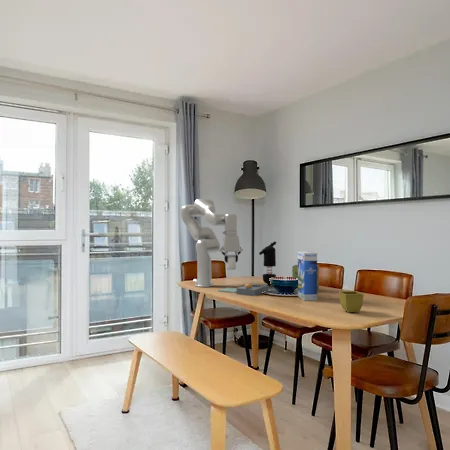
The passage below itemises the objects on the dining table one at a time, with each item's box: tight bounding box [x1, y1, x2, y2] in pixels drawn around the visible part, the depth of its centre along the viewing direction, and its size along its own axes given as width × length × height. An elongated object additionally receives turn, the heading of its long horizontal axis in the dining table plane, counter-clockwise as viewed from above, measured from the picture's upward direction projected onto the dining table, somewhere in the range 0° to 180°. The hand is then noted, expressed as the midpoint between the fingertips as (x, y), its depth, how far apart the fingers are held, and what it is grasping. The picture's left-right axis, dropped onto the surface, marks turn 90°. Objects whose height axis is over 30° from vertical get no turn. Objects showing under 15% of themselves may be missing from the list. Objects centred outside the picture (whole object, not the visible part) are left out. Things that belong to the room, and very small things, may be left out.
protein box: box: [291, 264, 320, 293], centre depth 240 cm, size 10×15×16 cm
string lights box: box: [297, 250, 318, 302], centre depth 214 cm, size 13×8×26 cm, turn 5°
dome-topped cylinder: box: [226, 254, 237, 271], centre depth 241 cm, size 6×6×9 cm
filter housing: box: [236, 283, 270, 297], centre depth 233 cm, size 12×19×4 cm, turn 148°
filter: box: [258, 241, 277, 287], centre depth 258 cm, size 14×9×30 cm
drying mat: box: [217, 287, 238, 294], centre depth 241 cm, size 12×12×1 cm
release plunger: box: [245, 282, 253, 289], centre depth 228 cm, size 4×4×6 cm
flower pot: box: [338, 290, 365, 313], centre depth 180 cm, size 9×9×9 cm
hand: (231, 262), depth 241 cm, fingers closed on dome-topped cylinder, 5 cm apart
